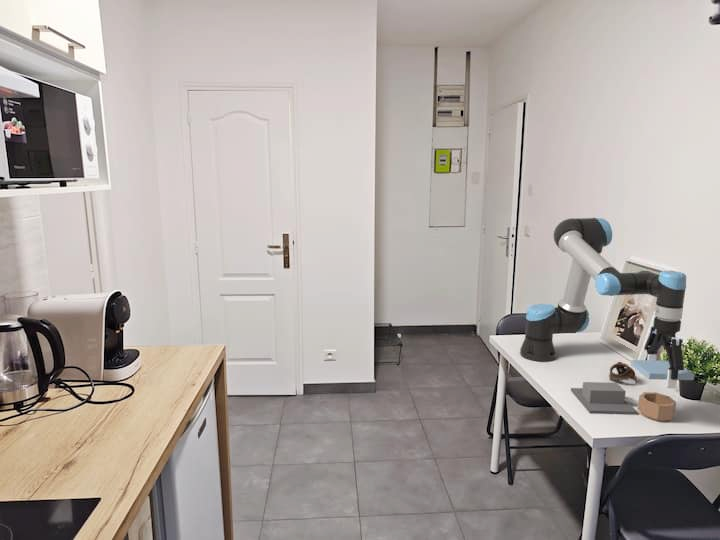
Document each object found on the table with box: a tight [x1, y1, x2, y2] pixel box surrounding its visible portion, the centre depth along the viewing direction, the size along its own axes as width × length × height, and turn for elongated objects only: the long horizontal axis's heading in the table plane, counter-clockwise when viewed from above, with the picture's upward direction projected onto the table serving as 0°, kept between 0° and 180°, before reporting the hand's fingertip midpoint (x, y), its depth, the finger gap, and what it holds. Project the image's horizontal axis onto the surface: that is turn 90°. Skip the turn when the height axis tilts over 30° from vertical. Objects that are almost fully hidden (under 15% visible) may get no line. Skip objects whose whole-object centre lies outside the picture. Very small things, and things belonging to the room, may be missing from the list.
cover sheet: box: [630, 359, 695, 381], centre depth 163 cm, size 12×14×2 cm
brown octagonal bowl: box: [637, 391, 677, 422], centre depth 165 cm, size 10×10×6 cm
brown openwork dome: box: [608, 361, 638, 384], centre depth 194 cm, size 12×10×8 cm
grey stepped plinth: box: [570, 381, 639, 415], centre depth 175 cm, size 18×16×6 cm
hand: (660, 379), depth 163 cm, fingers closed on cover sheet, 12 cm apart
